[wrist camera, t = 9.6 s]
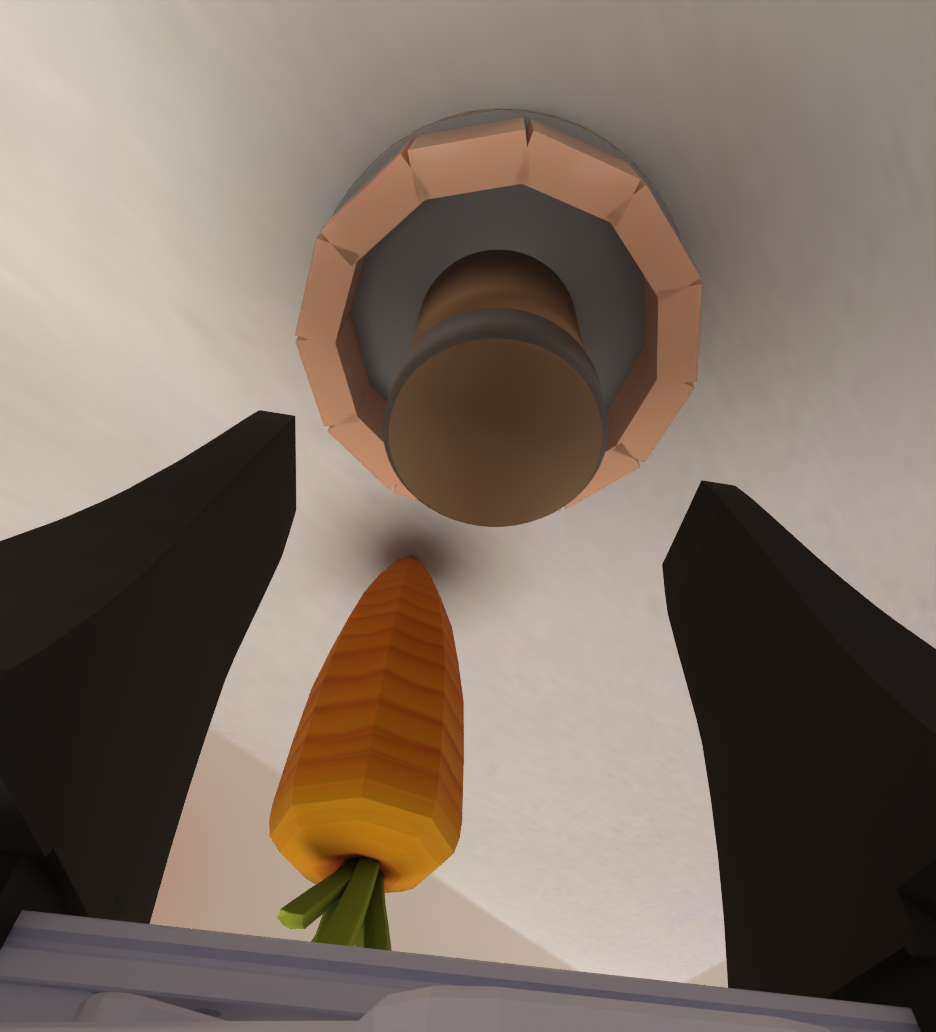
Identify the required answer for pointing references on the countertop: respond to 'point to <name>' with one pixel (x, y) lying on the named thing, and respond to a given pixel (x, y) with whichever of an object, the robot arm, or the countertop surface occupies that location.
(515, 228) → the coaster
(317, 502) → the countertop surface
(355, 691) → the carrot
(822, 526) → the countertop surface
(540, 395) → the walnut pepper mill
